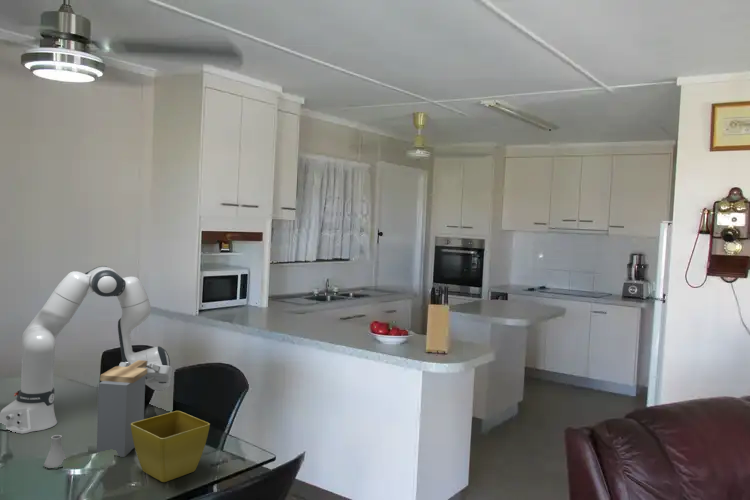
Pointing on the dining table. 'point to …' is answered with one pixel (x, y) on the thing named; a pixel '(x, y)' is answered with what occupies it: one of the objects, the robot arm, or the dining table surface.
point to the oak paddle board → (126, 373)
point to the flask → (55, 453)
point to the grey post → (119, 414)
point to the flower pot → (169, 444)
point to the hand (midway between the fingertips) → (138, 364)
